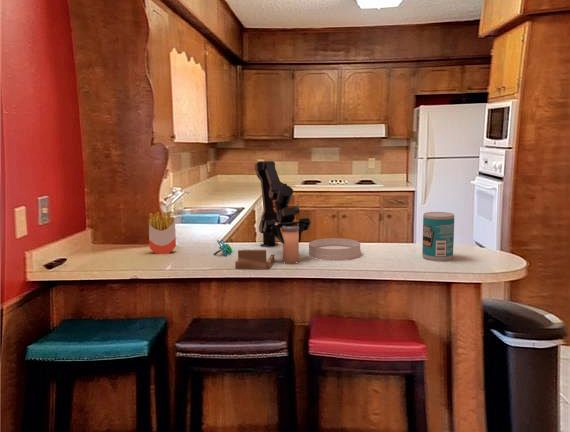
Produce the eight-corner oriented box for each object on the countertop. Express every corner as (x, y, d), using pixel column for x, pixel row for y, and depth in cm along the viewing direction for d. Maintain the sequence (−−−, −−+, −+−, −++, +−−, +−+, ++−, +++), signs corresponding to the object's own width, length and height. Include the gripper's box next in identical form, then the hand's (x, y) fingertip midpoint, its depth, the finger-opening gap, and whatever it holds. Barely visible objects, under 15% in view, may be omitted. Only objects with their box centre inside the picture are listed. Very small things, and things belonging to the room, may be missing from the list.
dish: (334, 264, 206) (334, 251, 205) (297, 254, 223) (297, 243, 222) (371, 254, 220) (371, 243, 219) (334, 246, 237) (334, 236, 236)
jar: (285, 259, 214) (285, 224, 212) (301, 260, 212) (301, 225, 210) (280, 263, 208) (279, 227, 205) (296, 264, 206) (296, 228, 203)
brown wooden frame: (242, 260, 214) (242, 243, 213) (274, 260, 212) (273, 243, 211) (235, 268, 201) (234, 250, 200) (269, 269, 199) (268, 251, 198)
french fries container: (174, 253, 228) (172, 212, 225) (149, 254, 228) (147, 213, 225) (176, 251, 233) (174, 211, 230) (151, 251, 232) (149, 212, 229)
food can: (455, 255, 214) (456, 212, 211) (450, 262, 204) (451, 217, 201) (425, 253, 220) (426, 211, 217) (419, 259, 209) (420, 215, 206)
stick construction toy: (228, 252, 218) (218, 237, 220) (214, 261, 219) (205, 246, 221) (237, 254, 230) (229, 239, 232) (225, 263, 231) (216, 248, 233)
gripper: (264, 200, 207) (272, 232, 198) (308, 198, 212) (318, 229, 204) (260, 217, 216) (267, 248, 207) (302, 214, 221) (312, 245, 212)
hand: (291, 242), depth 207 cm, fingers closed on jar, 6 cm apart
